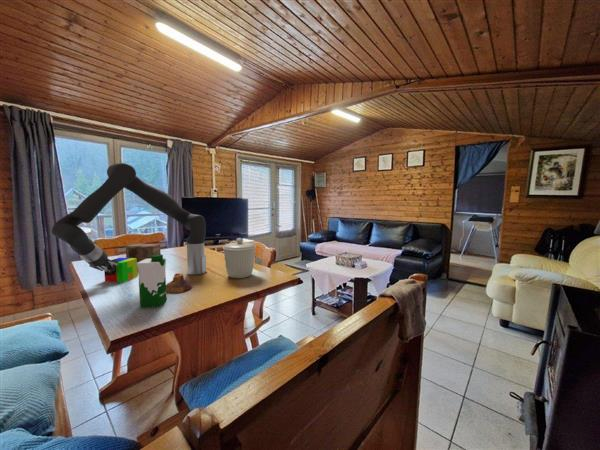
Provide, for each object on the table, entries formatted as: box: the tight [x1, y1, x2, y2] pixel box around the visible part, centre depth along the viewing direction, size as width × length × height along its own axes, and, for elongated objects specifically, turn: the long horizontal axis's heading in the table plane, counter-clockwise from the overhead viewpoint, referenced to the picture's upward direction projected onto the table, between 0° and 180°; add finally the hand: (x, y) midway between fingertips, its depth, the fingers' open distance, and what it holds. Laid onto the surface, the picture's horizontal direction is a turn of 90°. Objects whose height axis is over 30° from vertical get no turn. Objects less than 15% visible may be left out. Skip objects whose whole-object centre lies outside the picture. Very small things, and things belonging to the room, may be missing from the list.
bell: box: [166, 273, 193, 294], centre depth 122 cm, size 12×12×7 cm
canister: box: [222, 237, 257, 279], centre depth 143 cm, size 18×18×21 cm
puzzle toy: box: [103, 257, 139, 283], centre depth 136 cm, size 10×10×10 cm
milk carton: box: [137, 254, 168, 309], centre depth 104 cm, size 9×9×20 cm
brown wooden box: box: [125, 243, 161, 263], centre depth 155 cm, size 16×8×14 cm, turn 90°
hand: (113, 273), depth 130 cm, fingers closed
